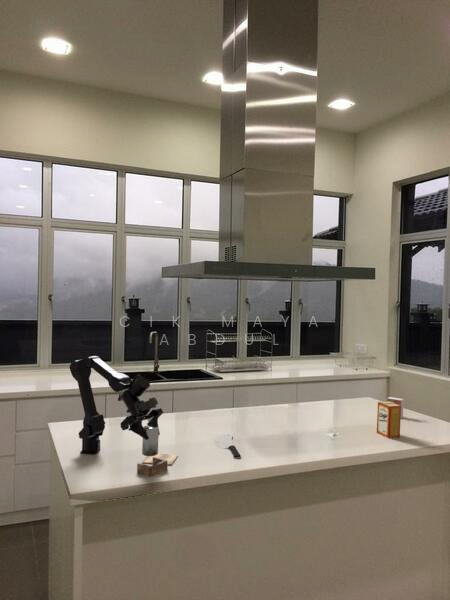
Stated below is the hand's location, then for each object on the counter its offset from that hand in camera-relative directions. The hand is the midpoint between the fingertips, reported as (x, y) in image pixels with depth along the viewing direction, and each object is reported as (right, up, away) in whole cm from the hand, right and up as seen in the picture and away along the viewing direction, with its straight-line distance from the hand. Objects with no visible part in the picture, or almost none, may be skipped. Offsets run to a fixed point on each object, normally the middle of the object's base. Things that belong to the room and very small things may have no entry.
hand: (153, 437), depth 187 cm
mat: (+1, -13, +13) cm, 18 cm away
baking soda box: (+109, -15, +58) cm, 124 cm away
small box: (+124, -15, +94) cm, 156 cm away
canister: (-1, -7, +1) cm, 7 cm away
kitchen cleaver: (+28, -14, +32) cm, 45 cm away
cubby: (0, -13, 0) cm, 13 cm away
